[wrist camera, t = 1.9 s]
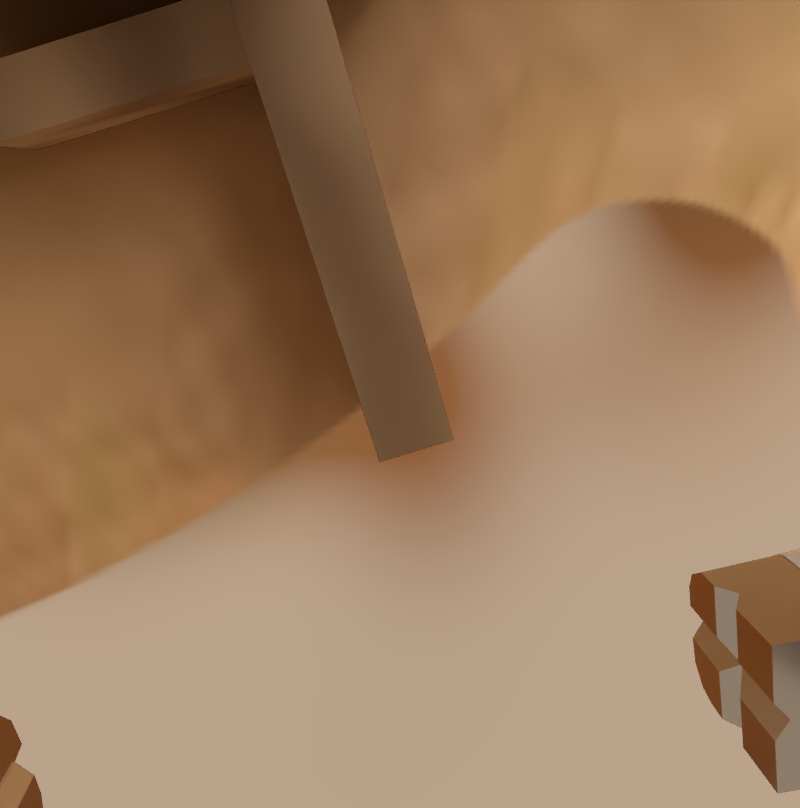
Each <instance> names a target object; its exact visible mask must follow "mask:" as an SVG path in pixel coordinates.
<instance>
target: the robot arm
mask: <svg viewBox="0 0 800 808" xmlns="http://www.w3.org/2000/svg"><path fill="white" fill-rule="evenodd" d="M689 589H690V604H691V607H692V608H693V609H694V611H695V612H696V613H697V614H698V615H699V616H700V618H701V619H702V620H703V622H702V624H701V626H700V627H699V629H698V630H697V632H696V634H695V636H694V637H693V643H694V653H695V662H696V666H697V669H698V672H699V675H700V679H701V682H702V685H703V688H704V690H705V692H706V694H707V696H708V697H709V699H710V701H711V703H712V704H713V706H714V708H715V709H716V710H717V712H718V713H719V715H720V716H721V717H722V719H724V720H726V721H728V722H730V723H732V724H735V725H737V726H739V727H741V728H742V734H743V748H744V749H745V750H746V752H747V753H748V754H749V756H750V757H751V758H752V760H753V761H754V762H755V764H756V765H757V766H758V768H759V769H760V770H761V772H762V773H763V774H764V776H765V777H766V779H767V780H768V781H769V783H770V784H771V785H772V787H773V788H774V789H775V791H776V792H777V793H783V792H789V791H794V790H800V549H798V550H793V551H789V552H785V553H781V554H777V555H774V556H771V557H767V558H762V559H758V560H753V561H749V562H744V563H740V564H736V565H731V566H727V567H723V568H718V569H714V570H710V571H705V572H700V573H696V574H692V576H691V581H690V586H689ZM21 744H22V743H21V741H20V739H19V737H18V734H17V732H16V730H15V728H14V726H13V724H12V721H11V720H9V719H6V718H4V717H2V716H0V808H43V804H42V798H41V792H40V789H39V786H38V784H37V781H36V778H35V776H34V775H33V774H32V773H30V772H29V771H27V770H26V769H24V768H23V767H21V766H20V765H18V764H17V763H15V760H16V757H17V755H18V752H19V750H20V747H21Z"/></svg>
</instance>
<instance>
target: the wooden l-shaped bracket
mask: <svg viewBox="0 0 800 808" xmlns="http://www.w3.org/2000/svg"><path fill="white" fill-rule="evenodd" d="M254 82H256V84H257V87H258V90H259V93H260V96H261V100H262V103H263V106H264V109H265V112H266V115H267V118H268V121H269V124H270V127H271V130H272V133H273V136H274V139H275V143H276V146H277V149H278V152H279V155H280V158H281V161H282V164H283V167H284V170H285V173H286V176H287V179H288V182H289V186H290V189H291V192H292V195H293V198H294V201H295V204H296V207H297V210H298V213H299V216H300V219H301V222H302V225H303V228H304V232H305V235H306V238H307V241H308V244H309V247H310V250H311V253H312V256H313V259H314V262H315V265H316V268H317V271H318V275H319V278H320V281H321V284H322V287H323V290H324V293H325V296H326V299H327V302H328V305H329V308H330V311H331V314H332V317H333V321H334V324H335V327H336V330H337V333H338V336H339V339H340V342H341V345H342V348H343V351H344V354H345V357H346V360H347V364H348V367H349V370H350V373H351V376H352V379H353V382H354V385H355V388H356V391H357V394H358V397H359V400H360V403H361V406H362V410H363V413H364V416H365V419H366V422H367V425H368V428H369V431H370V434H371V437H372V440H373V443H374V446H375V449H376V452H377V455H378V459H379V462H382V461H385V460H388V459H391V458H395V457H398V456H401V455H405V454H408V453H412V452H415V451H418V450H422V449H425V448H428V447H431V446H435V445H438V444H442V443H445V442H448V441H452V440H454V439H453V435H452V432H451V428H450V425H449V422H448V418H447V414H446V411H445V408H444V404H443V401H442V397H441V394H440V390H439V387H438V383H437V380H436V377H435V373H434V370H433V366H432V363H431V359H430V356H429V352H428V349H427V345H426V342H425V338H424V335H423V331H422V328H421V325H420V321H419V318H418V314H417V311H416V307H415V304H414V300H413V297H412V293H411V290H410V287H409V283H408V280H407V276H406V273H405V269H404V266H403V262H402V259H401V255H400V252H399V248H398V245H397V242H396V238H395V235H394V231H393V228H392V224H391V221H390V217H389V214H388V210H387V207H386V204H385V200H384V197H383V193H382V190H381V186H380V183H379V179H378V176H377V172H376V169H375V165H374V162H373V159H372V155H371V152H370V148H369V145H368V141H367V138H366V134H365V131H364V127H363V124H362V121H361V117H360V114H359V110H358V107H357V103H356V100H355V96H354V93H353V89H352V86H351V82H350V79H349V76H348V72H347V69H346V65H345V62H344V58H343V55H342V51H341V48H340V44H339V41H338V38H337V34H336V31H335V27H334V24H333V20H332V17H331V13H330V10H329V6H328V3H327V0H183V1H180V2H177V3H173V4H170V5H167V6H164V7H161V8H158V9H154V10H151V11H148V12H145V13H142V14H138V15H135V16H132V17H129V18H126V19H123V20H119V21H116V22H113V23H110V24H107V25H104V26H100V27H97V28H94V29H91V30H88V31H85V32H81V33H78V34H75V35H72V36H69V37H66V38H62V39H59V40H56V41H53V42H50V43H46V44H43V45H40V46H37V47H34V48H31V49H27V50H24V51H21V52H18V53H15V54H12V55H8V56H5V57H2V58H0V146H7V147H18V148H29V149H42V148H45V147H49V146H52V145H55V144H58V143H61V142H65V141H68V140H71V139H74V138H77V137H81V136H84V135H87V134H90V133H93V132H97V131H100V130H103V129H106V128H109V127H113V126H116V125H119V124H122V123H125V122H129V121H132V120H135V119H138V118H141V117H145V116H148V115H151V114H154V113H158V112H161V111H164V110H167V109H170V108H174V107H177V106H180V105H183V104H186V103H190V102H193V101H196V100H199V99H202V98H206V97H209V96H212V95H215V94H218V93H222V92H225V91H228V90H231V89H234V88H238V87H241V86H244V85H247V84H250V83H254Z"/></svg>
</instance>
